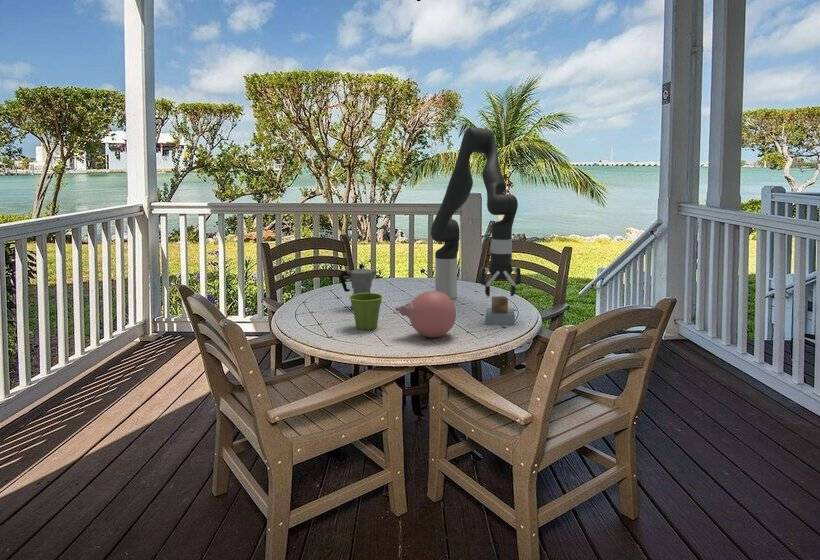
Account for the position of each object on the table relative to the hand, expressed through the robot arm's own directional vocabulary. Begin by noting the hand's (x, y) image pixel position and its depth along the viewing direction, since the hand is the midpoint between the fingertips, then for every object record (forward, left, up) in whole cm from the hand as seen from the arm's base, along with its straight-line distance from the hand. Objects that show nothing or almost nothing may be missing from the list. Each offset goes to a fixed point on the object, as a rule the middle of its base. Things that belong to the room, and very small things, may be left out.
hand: (499, 295), depth 212 cm
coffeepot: (-52, +22, -10) cm, 57 cm away
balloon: (-28, -18, -10) cm, 35 cm away
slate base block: (0, 0, -10) cm, 10 cm away
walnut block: (0, 0, -6) cm, 6 cm away
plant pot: (-48, -6, -10) cm, 49 cm away
